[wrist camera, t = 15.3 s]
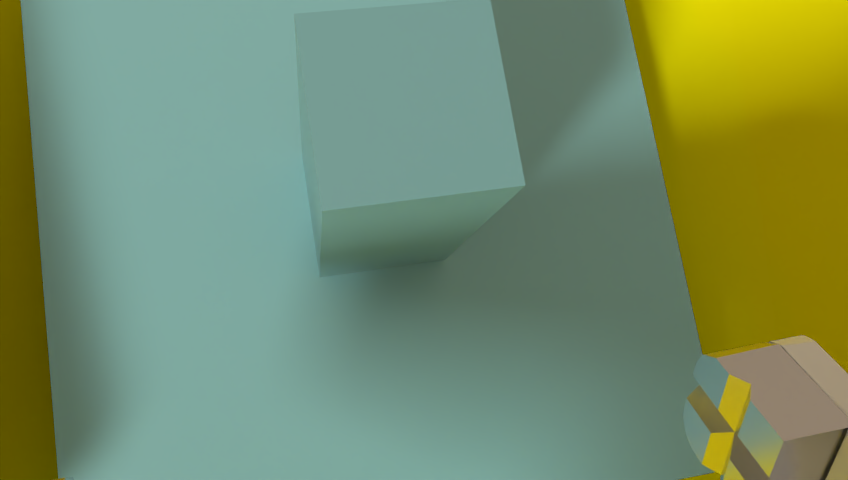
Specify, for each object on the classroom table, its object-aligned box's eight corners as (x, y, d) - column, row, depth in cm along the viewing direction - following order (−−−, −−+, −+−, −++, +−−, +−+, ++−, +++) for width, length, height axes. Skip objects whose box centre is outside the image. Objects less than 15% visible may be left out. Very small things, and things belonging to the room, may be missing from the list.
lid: (683, 459, 20) (985, 526, 11) (98, 576, 17) (-133, 788, 8) (575, -48, 22) (751, -334, 13) (48, -10, 20) (-174, -334, 11)
